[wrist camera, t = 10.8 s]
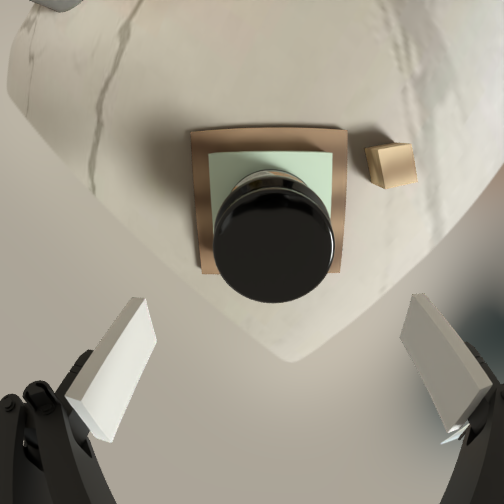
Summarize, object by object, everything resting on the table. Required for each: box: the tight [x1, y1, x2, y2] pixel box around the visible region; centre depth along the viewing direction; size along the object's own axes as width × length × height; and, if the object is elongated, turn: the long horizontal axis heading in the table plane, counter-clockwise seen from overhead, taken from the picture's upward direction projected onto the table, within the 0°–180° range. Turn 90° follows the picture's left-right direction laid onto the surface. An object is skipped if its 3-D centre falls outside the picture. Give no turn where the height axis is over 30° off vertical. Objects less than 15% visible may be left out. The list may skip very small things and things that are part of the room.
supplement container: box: [213, 169, 335, 303], centre depth 27 cm, size 11×10×12 cm
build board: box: [191, 128, 347, 274], centre depth 37 cm, size 20×20×2 cm
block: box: [364, 143, 418, 189], centre depth 32 cm, size 5×5×5 cm
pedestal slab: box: [208, 151, 332, 267], centre depth 34 cm, size 14×14×4 cm
